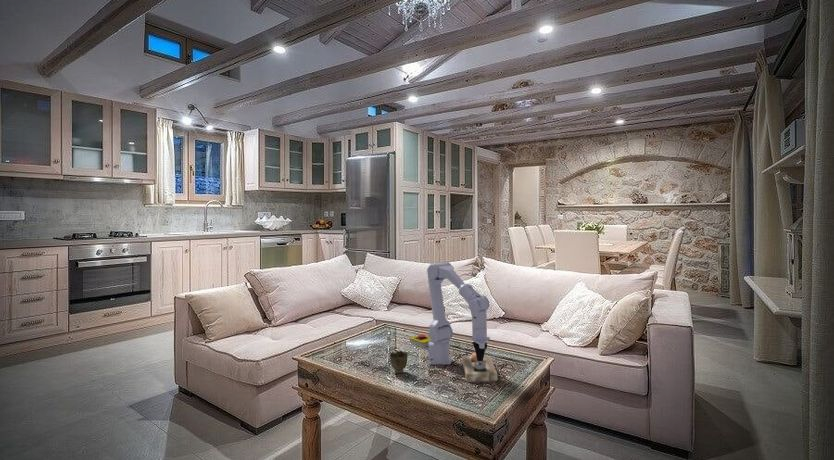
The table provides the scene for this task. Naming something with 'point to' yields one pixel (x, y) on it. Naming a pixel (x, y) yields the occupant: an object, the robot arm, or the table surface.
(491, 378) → the button panel
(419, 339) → the emergency button
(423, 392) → the table surface
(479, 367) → the grey button
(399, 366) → the cup
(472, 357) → the terracotta button
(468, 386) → the table surface
